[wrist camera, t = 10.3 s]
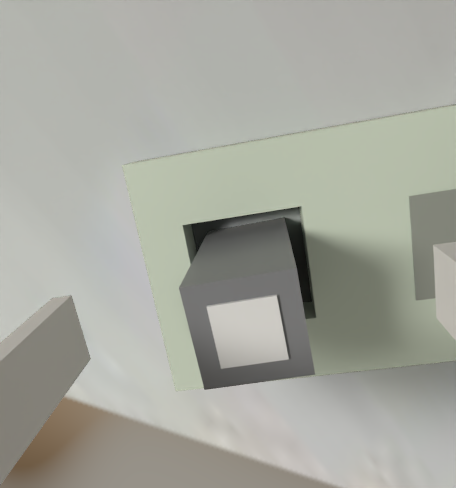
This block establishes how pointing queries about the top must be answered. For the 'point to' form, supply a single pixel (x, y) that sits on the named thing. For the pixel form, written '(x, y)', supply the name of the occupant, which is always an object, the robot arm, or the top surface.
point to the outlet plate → (319, 232)
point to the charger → (246, 307)
